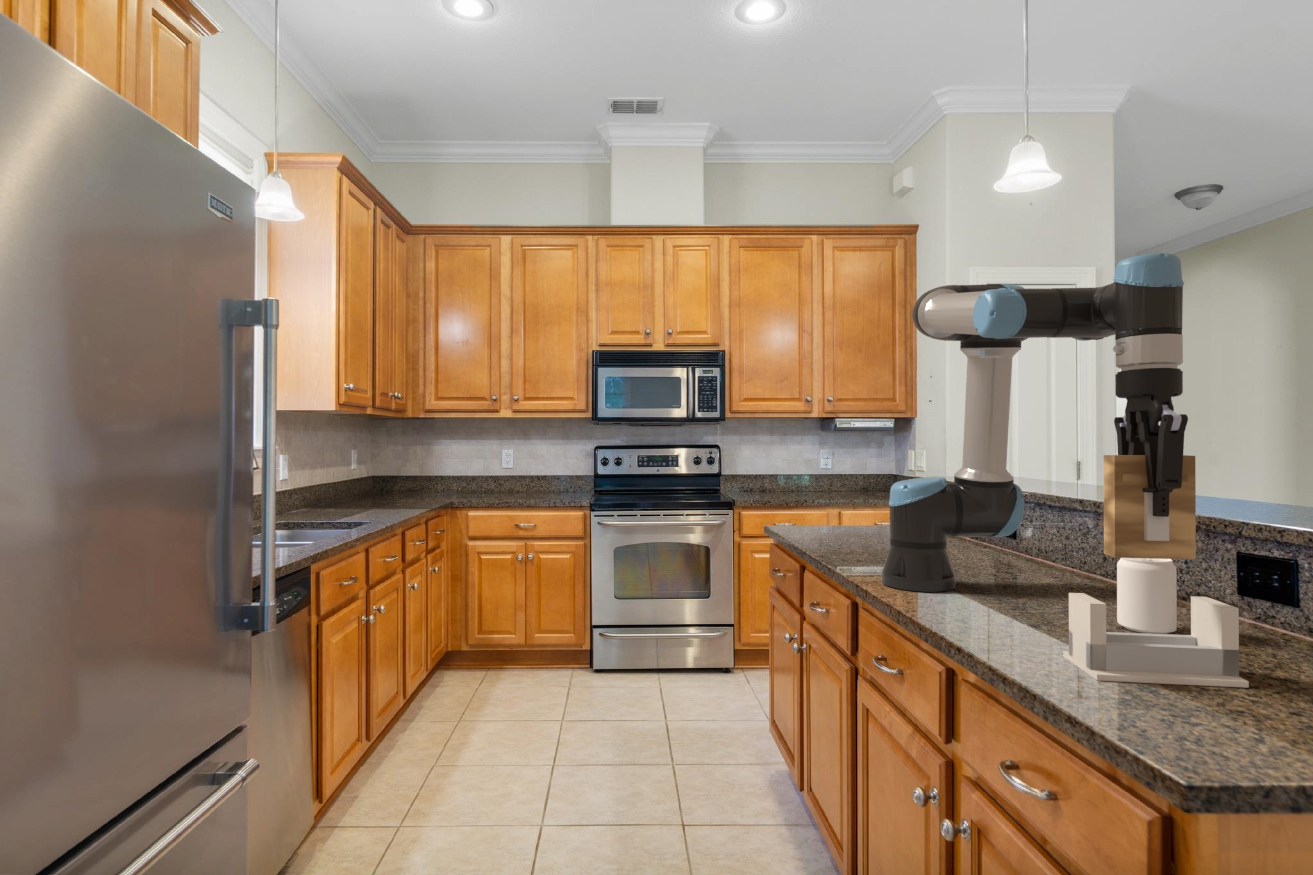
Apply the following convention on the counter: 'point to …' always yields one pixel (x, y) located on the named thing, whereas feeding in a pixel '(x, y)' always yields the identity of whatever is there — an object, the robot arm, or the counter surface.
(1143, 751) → the counter surface
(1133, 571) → the beverage can
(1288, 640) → the counter surface
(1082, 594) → the door track
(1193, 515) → the door panel
